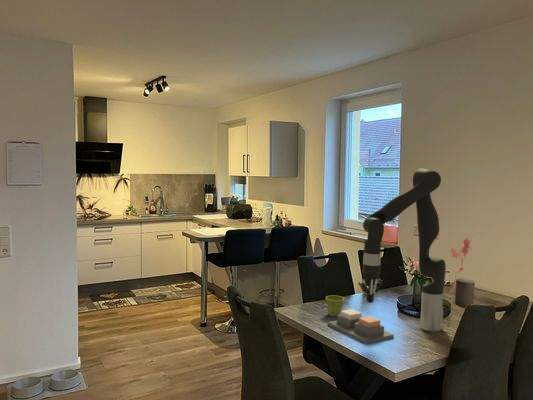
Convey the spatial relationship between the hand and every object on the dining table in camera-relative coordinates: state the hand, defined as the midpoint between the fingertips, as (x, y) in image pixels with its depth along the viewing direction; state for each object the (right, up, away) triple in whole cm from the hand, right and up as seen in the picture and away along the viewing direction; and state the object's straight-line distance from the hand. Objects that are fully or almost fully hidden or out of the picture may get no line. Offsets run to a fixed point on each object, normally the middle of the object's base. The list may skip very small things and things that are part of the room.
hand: (370, 302), depth 196 cm
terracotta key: (0, -11, +1) cm, 11 cm away
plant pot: (-11, -13, +29) cm, 34 cm away
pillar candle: (+65, -14, +55) cm, 86 cm away
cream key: (-6, -10, +11) cm, 16 cm away
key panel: (-3, -15, +6) cm, 16 cm away
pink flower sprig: (+76, -13, +79) cm, 111 cm away
